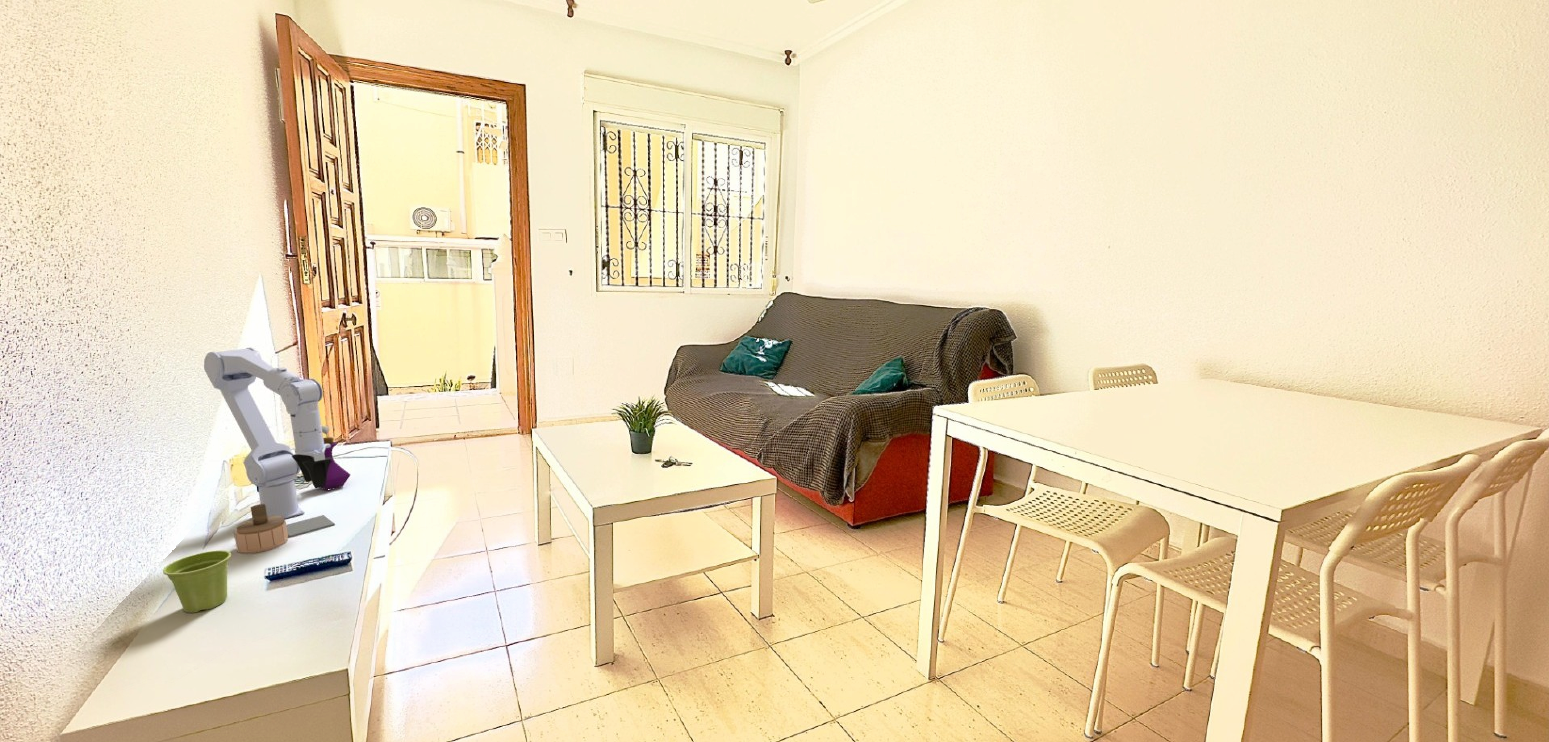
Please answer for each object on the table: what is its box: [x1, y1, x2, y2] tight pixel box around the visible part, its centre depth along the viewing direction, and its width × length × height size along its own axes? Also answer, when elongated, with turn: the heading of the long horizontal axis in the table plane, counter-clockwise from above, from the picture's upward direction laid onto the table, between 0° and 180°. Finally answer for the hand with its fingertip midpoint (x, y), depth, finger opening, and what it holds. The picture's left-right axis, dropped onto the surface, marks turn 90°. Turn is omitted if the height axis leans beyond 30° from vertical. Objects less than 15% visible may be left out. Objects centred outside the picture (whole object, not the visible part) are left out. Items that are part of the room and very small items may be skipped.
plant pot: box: [162, 549, 232, 614], centre depth 119 cm, size 9×9×9 cm
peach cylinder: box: [233, 519, 289, 555], centre depth 145 cm, size 9×9×4 cm
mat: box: [286, 514, 336, 538], centre depth 156 cm, size 9×9×1 cm
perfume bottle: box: [320, 425, 351, 491], centre depth 183 cm, size 8×8×18 cm
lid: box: [236, 503, 285, 534], centre depth 145 cm, size 8×8×5 cm
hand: (315, 483), depth 156 cm, fingers open, 7 cm apart
